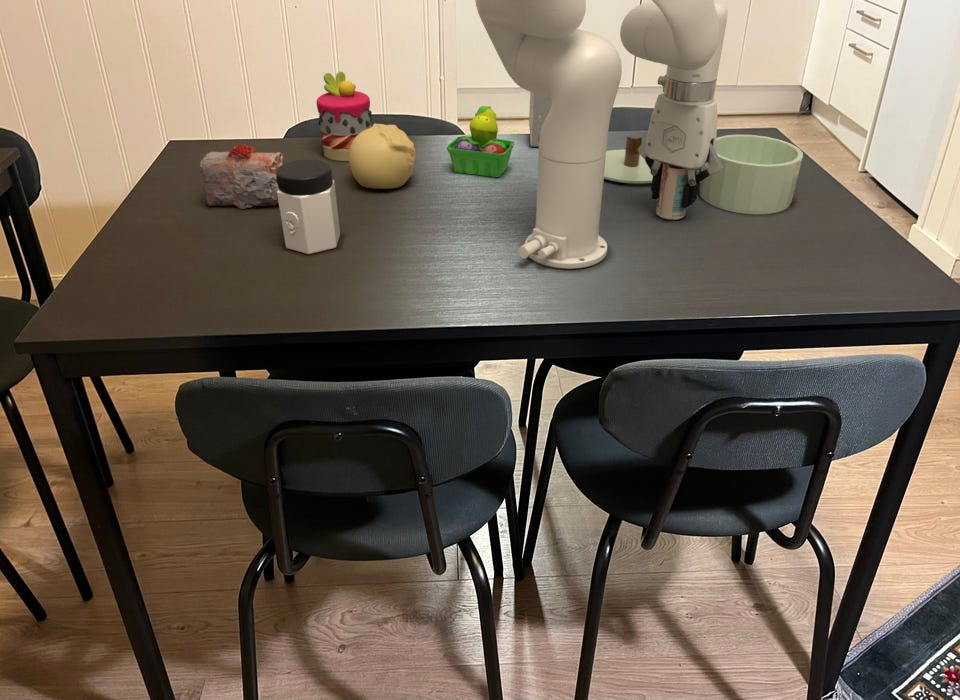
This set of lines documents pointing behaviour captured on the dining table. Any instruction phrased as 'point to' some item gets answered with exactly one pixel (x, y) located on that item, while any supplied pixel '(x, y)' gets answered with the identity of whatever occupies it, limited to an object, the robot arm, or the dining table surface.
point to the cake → (341, 116)
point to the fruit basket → (481, 147)
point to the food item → (241, 177)
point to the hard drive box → (537, 116)
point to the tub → (752, 174)
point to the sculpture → (382, 157)
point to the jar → (308, 206)
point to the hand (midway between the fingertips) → (672, 200)
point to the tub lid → (627, 163)
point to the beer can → (671, 192)
